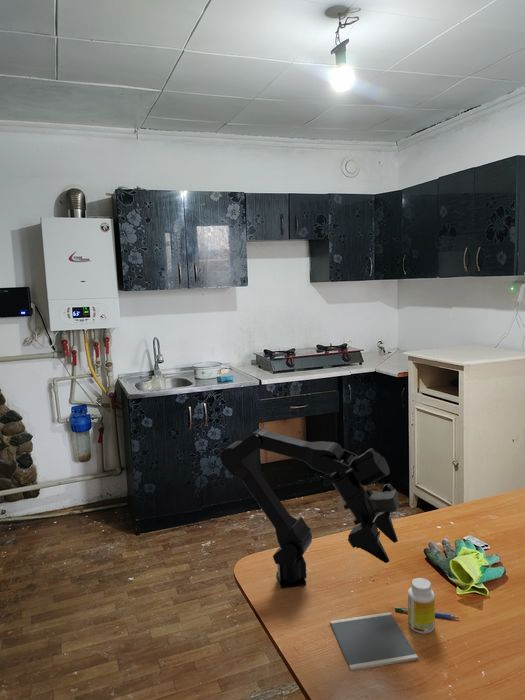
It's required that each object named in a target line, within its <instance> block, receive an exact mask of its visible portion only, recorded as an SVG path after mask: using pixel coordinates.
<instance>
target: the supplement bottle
mask: <svg viewBox="0 0 525 700" xmlns="http://www.w3.org/2000/svg"><path fill="white" fill-rule="evenodd" d="M435 597H436V596H435V592H434V591H433V589H432V583H431V582H430V581H429V580H428V579H426V578H423V577H422V578H421V577H417V578H414V579H412V581H411V587H409V588H408V590H407V624H408V627H409V628H410V629H411V630H413V631H414V632H416V633H419V634H429V633H431V632H432V631H433V630H434V629H435V625H436V624H435V620H436V619H435V617H436V613H435V612H436V607H435V606H436V603H435V602H436V598H435Z"/></svg>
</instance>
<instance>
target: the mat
mask: <svg viewBox="0 0 525 700" xmlns="http://www.w3.org/2000/svg"><path fill="white" fill-rule="evenodd" d="M329 622H330V623H329V624H330V626H331V628H332V631H333V634H334V635H335V638H336V640H337V642H338V644H339V647H340V650H341V652H342V654H343V656H344V659H345V661H346V663H347V665H348V668H349V670H350V671H351V672H352V671H353V672H354V671H358V670H364V669H370V668H374V667H375V668H376V667H382V666H388V665H389V666H390V665H394V664H401V663H405V662H411V661H418V660H419V656H418V654H417V653H416V652H415V650H414V649H413V647H412V646H411V644H410V642H409V640H408V638H407V637H406V636H405V634H404V632H403V630H402V629H401V627H400V626H399V625H398V622H397V621H396V620H395V618H394V616H393V615H392V612H390V611H389V612H383V613H375V614H369V615H362V616H361V615H360V616H355V617H349V618H342V619H336V620H330V621H329Z"/></svg>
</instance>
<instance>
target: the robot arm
mask: <svg viewBox="0 0 525 700" xmlns="http://www.w3.org/2000/svg"><path fill="white" fill-rule="evenodd" d="M258 449H259V450H262V451H267V452H271V453H274V454H277V455H282V456H285V457H288V458H292V459H296V460H299V461H302V462H304V463H306V464H307V465H308V466H309V467H310V468H311V469H313V470H316V471H318V472H321V473H323V474H324V482H323V484H322V485H323V487H325V488H326V487H328V486H330V485H333V487H334V488H335V490H336V491H337V493H338V495H340V497H341V500H342V501H344V505H342V507H343V508H344V509H345V511H346V510H349V511H350V512H351V514H352V516H353V517H354V520H353V524H354V526H355V527H352V529H351V531H350V533H349V534H348V538H347V541H348V543H349V544H350V546H351V547H352V548H353V549H354V548H356V549H361V550H363V551H365V552H367V553H368V554H370V555H372V556H373V557H375V558H376V559H378V560H380V561H381V562H383V563H384V564H387V563H389V562H390V558H389V555H388V554H387V552H386V550H385V548H384V546H383V543H382V542H381V541H380V536H381V533H382V534H383V535H385V536H386V537H387V538H388V539H389V540H390V541H391V542H392V543H395V544H396V543H397V542H398V541H399V540H398V536H397V532H396V530H395V528H394V524H393V521H392V519H391V515H392V513H395V512H396V511H397V510H398V507H399V506H400V500H399V497H398V496H399V491H397V489H395V487H393V485H392V484H391V483H386V484H384V485H383V486H382V489H381V490H378V491H377V492H373V490H372V489H371V488H369V487H367V488H366V487H365V486H370V485H372V484H373V483H376V482H377V481H379V480H382V479H383V478H384V477H387V476H389V475H390V472H391V469H390V466H389V464H388V461H387V460H386V458H385V457H384V456H382V455H381V454H380V453H379V452H377V451H375V449H374V448H373V447H371V448H368V450H366V451H365V452H364V453H362V454H360V455H358V454H357V453H354V452H352V451H349V450H347V449H345V448H342V446H341V445H340V443H337V442H334V441H325V440H324V441H323V440H321V441H307V440H303V439H299V438H295V437H290V436H287V435H283V434H279V433H275V432H272V431H268V430H266V429H264V428H259V429H257V430H256V431H253V432H252V433H251V434H250V435H249V436H248V437H247V438H245V440H236V441H233V443H231V444H230V445H228V446H227V447H226V448H224V449H223V450H221V453H220V458H219V459H220V463H221V465H222V466H223V467H224V468H225V470H226V471H227V472H228V473H229V474H230V475H232V476H233V477H235V478H237V479H238V480H241V481H242V483H243V484H244V486H245V487H246V488H247V490H248V491H249V493H250V494H251V495H252V497H253V498H254V500H255V501H256V503H257V505H259V507H260V508H261V510H262V512H263V513H264V514H265V516H266V517H267V518H268V520H269V522H270V523H271V524H272V526H273V527H274V530H275V535H276V540H277V543H278V546H279V548H278V549H277V550H276V551H275V552H274V554H273V555H272V557H273V561H274V563H275V564H276V565H277V571H276V576H277V580H278V582H279V586H280V588H282V589H285V588H291V587H292V588H293V587H297V586H305V585H307V581H306V579H307V562H306V560H305V558H304V554H305V553H306V551H307V550H308V548H309V547H310V546H311V544H312V540H313V534H312V532H311V531H312V529H311V528H310V527H309V525H307V523H306V522H305V520H304V518H303V517H301V516H300V517H299V518H298V519H297V518H295V517H293V516H292V515H291V514H290V513H289V512H288V510H287V509H286V507H285V505H284V504H283V503H282V502H281V500H280V499H279V497H278V496H277V494H276V493H275V492H274V491H273V489H272V488H271V486H270V485H269V483H268V481H266V479H265V478H264V475H262V473H261V472H260V471H259V468H258V466H257V461H256V460H257V459H256V455H255V454H254V452H255V451H256V450H258Z"/></svg>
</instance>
